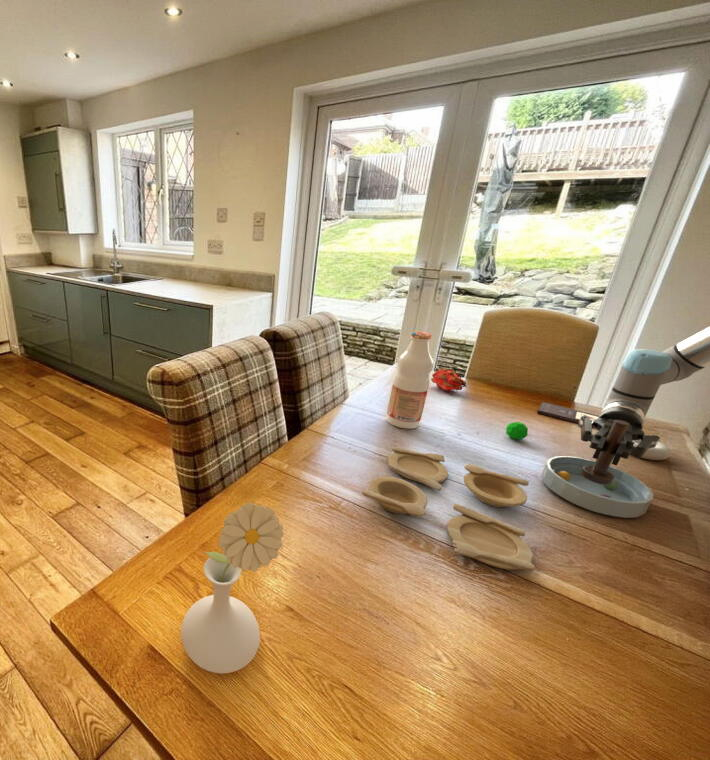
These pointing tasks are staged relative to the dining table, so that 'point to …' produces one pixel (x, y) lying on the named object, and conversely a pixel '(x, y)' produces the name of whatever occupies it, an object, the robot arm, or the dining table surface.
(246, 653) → the flower in vase
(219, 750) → the dining table surface
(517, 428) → the polyhedron
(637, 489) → the bowl
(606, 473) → the brown wooden peg
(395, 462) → the tableware set
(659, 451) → the donut
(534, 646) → the dining table surface
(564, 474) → the bead
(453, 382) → the dragon fruit
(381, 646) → the dining table surface
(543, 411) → the chocolate bar
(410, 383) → the fruit juice
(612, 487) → the bead
